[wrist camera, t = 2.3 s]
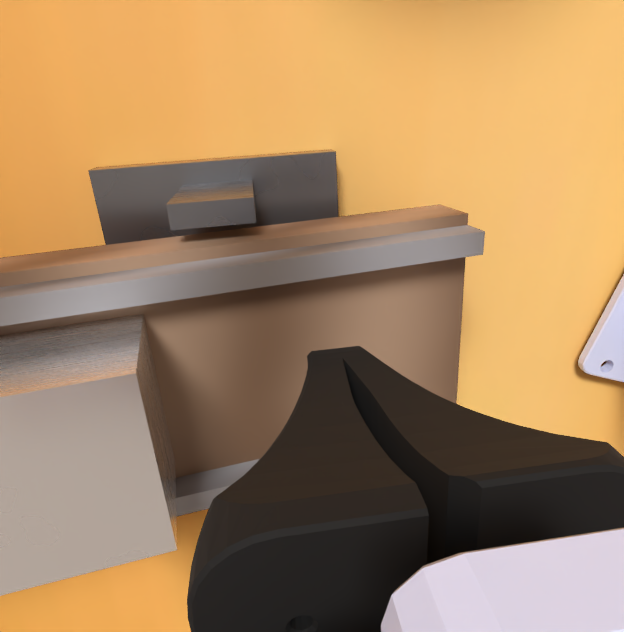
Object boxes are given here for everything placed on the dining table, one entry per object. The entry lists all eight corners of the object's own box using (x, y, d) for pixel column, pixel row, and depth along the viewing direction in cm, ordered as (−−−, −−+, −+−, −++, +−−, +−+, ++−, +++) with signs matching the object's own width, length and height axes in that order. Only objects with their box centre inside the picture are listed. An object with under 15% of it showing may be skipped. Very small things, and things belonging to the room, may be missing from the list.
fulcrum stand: (331, 149, 15) (358, 162, 11) (344, 429, 19) (367, 505, 15) (96, 167, 14) (45, 186, 11) (161, 452, 18) (140, 537, 15)
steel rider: (143, 313, 12) (135, 373, 9) (175, 462, 13) (177, 550, 11) (-100, 350, 10) (-191, 431, 8) (-31, 507, 12) (-86, 617, 10)
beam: (439, 204, 14) (516, 229, 11) (431, 412, 17) (490, 479, 14) (-693, 341, 9) (-1141, 458, 6) (-437, 606, 12) (-650, 779, 9)
